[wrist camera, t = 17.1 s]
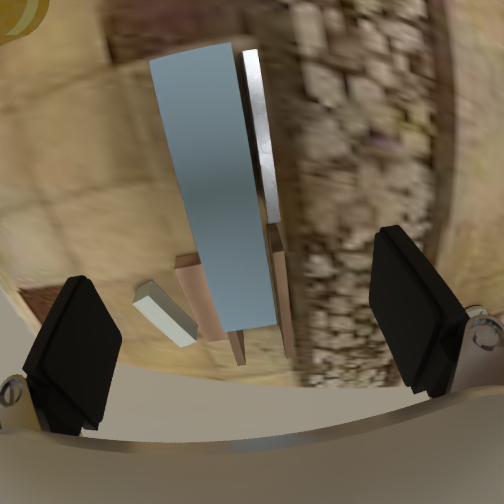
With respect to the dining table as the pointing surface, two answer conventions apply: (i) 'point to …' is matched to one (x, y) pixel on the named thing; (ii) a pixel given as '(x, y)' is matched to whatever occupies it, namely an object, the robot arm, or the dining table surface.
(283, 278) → the walnut rack
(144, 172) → the dining table surface
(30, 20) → the book
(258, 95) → the grey rack
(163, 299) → the offcut upper
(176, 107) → the tall sheet
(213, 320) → the offcut lower
